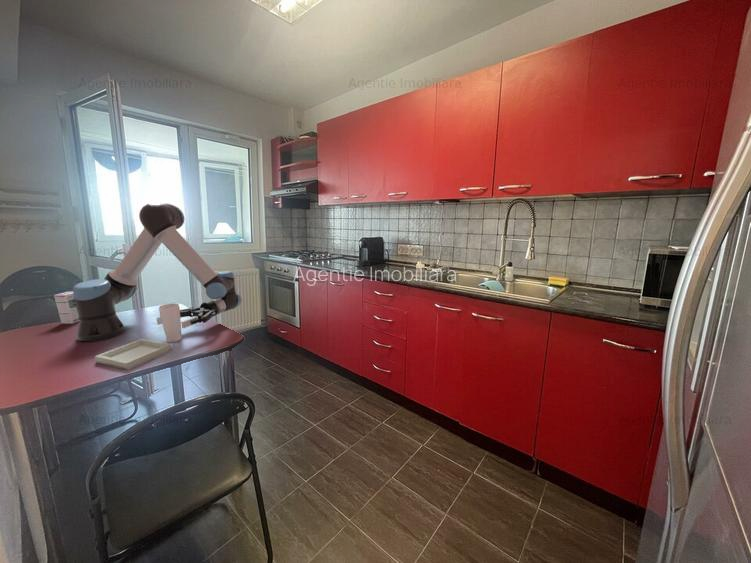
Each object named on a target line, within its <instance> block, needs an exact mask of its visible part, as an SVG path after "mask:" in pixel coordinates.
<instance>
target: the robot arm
mask: <svg viewBox="0 0 751 563" xmlns="http://www.w3.org/2000/svg"><path fill="white" fill-rule="evenodd" d="M139 221H140V223H141V225H142V226H143V229H142V231H141V232H140V234H139V235H138V236H137V238H136V239H135V241H134V242H133V243H132V245H131V246H130V248H129V250H127V253H126V254H125V255H124V257H123V258H122V260H121V261H120V262H119V264H118V265H117V267H116V269H111V270H109V272H107V274H106V275H105V277H104V278H103V279H102V278H101V279H100V278H95V279H90V280H89V279H88V280H86V281H81V282H80V283H77V284H75V285H74V286H73V287H72V292H73V297H74V300H75V304H76V308H77V312H78V316H79V321H78V327H77V332H76V337H77V338H76V339H77V341H79V342H82V341H87V342H96V341H102V340H106V339H110V338H114V337H116V336H118V335H121V334H123V333H124V332H125V326H124V324H123V322H122V321H121V319H120V318H119V317H118V315H117V313H116V307H115V305H117V304H120V303H122V302H124V301H127V300H129V299H131V298H132V297H134V295H135V293H136V292H137V289H138V288H137V285H138V284H139V280H138V277H139V276H140V275H141V273H142V272H143V270H145V268H146V266H147V265H148V263H149V262H150V261H151V259H152V257H153V256H154V255H155V253H156V252H157V250H158V249H159V247H160V246H161V245H162V244H163V245H164V246H165V247H166V248H167V250H168V251H169V252H170V253H171V254H172V255H173V256H174V257H175V258H176V259H177V260H178V261H179V262H180V263H181V264H182V266H183V267H185V268H186V270H188V272H189V273H190V274H191V275H192V276H193V277H194V278H195V279H196V280H197V282H199V283H200V284H201V285H202V287H203V288H204V289H205V294H206V296H207V297H208V298H209V299H210V300H207V301H205V302H202V303H201V304H200V305H199V306H198V307H194V306H192V307H187V308H183V309H180V317H181V318H186V317H190V318H188V319H185V320H182V321H181V329H186V328H188V327H191V326H194V325H196V324H200V323H203V324H204V323H207V322H209V320H210V319H212V318H213V317H215V316H219V315H220V314H222V313H223V314H224V313H225V312H227V311H230V310H234V309H236V308H237V307H239V306H240V305H241V304H242V302H243V301H242V297H241V295H240V294H239V293H238V292H236V284H235V279H236V278H235V276H234V272H233V271H230V270H224V271H222V270H221V271H219V272H217V273H216V272H215V271H214V269H213V268H212V267H211V266H210V265H209V264H208V263H207V262H206V261H205V260H204V259H203V258H202V256H201V255H200V254H199V253H198V252H197V251H196V250H195V249H194V247H192V246H191V245H190V243H189V242H188V241H187V240H186V239H185V238H184V237H183V236H182V235H181V233H180V232H179V231H178V229H180V228H181V227H182V226H183V225H184V224H185V215H184V212H183V211H182V210H181V209H180V207H178V206H176V205H175V204H171V203H159V202H151V203H147V204H145V205H143V206H142V207H141V209H140V210H139ZM156 323H157V325H163V324H162V321H161V317H160V316H159V317H156Z"/></svg>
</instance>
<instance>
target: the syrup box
mask: <svg viewBox="0 0 751 563" xmlns="http://www.w3.org/2000/svg"><path fill="white" fill-rule="evenodd" d="M54 300H55V304H56V307H57V310H58V315H59V318H60V322H61V324H62V325H63V324H65V325H66V324H67V325H69V324H70V325H71V324H75V323H79V322H80V321H79V316H78V312H77V308H76V304H75V300H74V297H73V291H65V292H62V293H58V294H54Z"/></svg>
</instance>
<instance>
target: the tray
mask: <svg viewBox="0 0 751 563" xmlns="http://www.w3.org/2000/svg"><path fill="white" fill-rule="evenodd" d="M172 351H173V343H170V342H163V341H159V340H158V341H157V340H152V339H149V338H148V339H147V338H140V339H138V340H135V341H134V340H133V341H132V342H130V343H126V344H123V345H121V346H118V347H116V348H113V349H111V350H108V351H105V352H103V353H100V354H97V355H95V356H94V359H95V362H97V364H100V363H101V365H104V364H105V365H104V366H108V365H109V367H112V368H117V369H122V370H125V371H129V370H131V369H134V368H135V367H138V366H140V365H143V364H145V363H147V362H149V361H151V360H154V359H155V358H158V357H160V356H162V355H164V354H167V353H169V352H172Z"/></svg>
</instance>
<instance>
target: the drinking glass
mask: <svg viewBox="0 0 751 563" xmlns="http://www.w3.org/2000/svg"><path fill="white" fill-rule="evenodd" d="M158 308H159V309H158V310H159V317H161V321H162V324H161V325H162V327H163V328H162V329H163V331H164V335H165V339H166V342H167V343H175V342H179V341H181V340H182V338H183V336H182V324H181V322H182V321H181V320H182V319H181V318H182V317H180V310H181V308H180V305H179V303H176V302H175V303H165V304H163V305H160V306H159V307H158Z"/></svg>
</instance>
